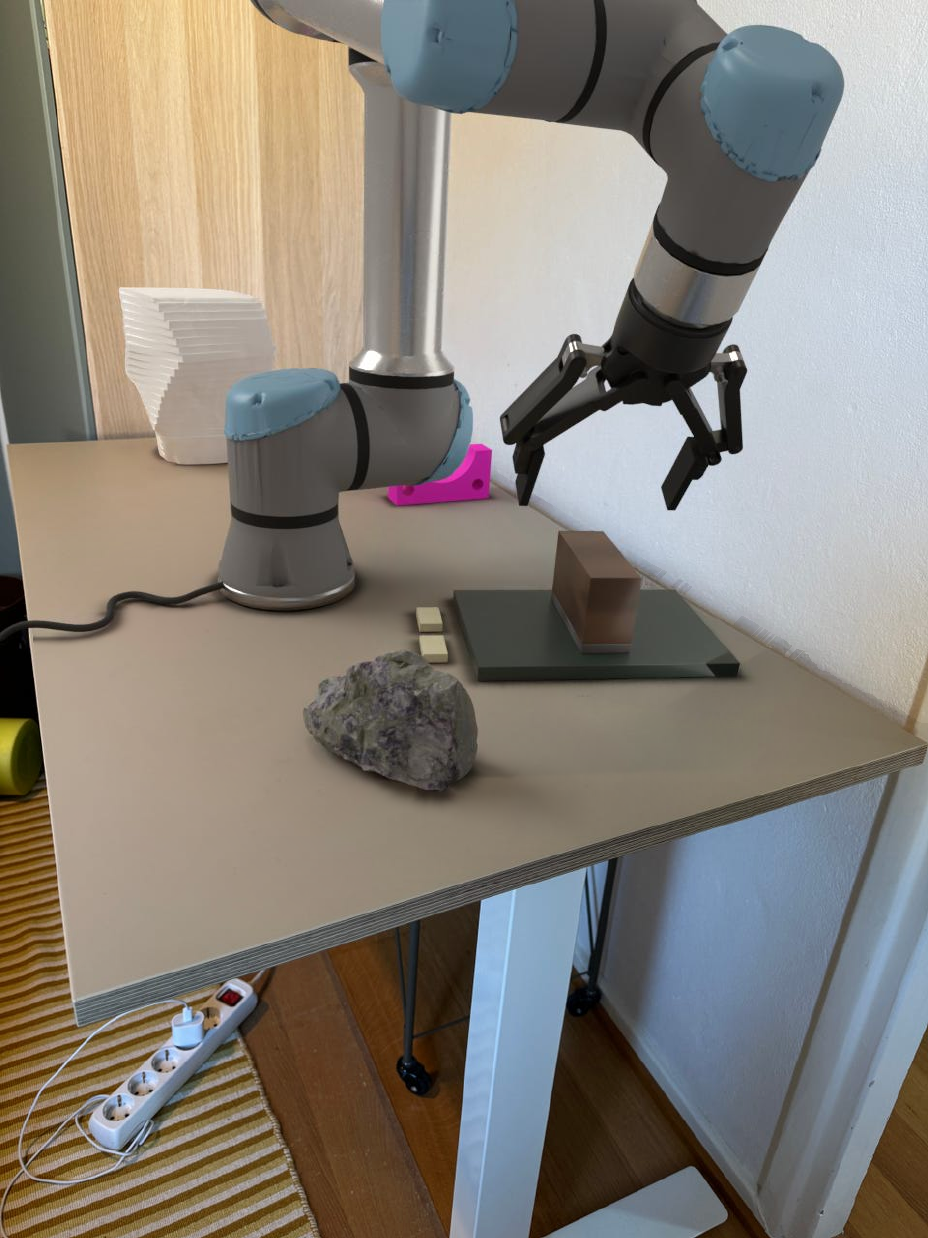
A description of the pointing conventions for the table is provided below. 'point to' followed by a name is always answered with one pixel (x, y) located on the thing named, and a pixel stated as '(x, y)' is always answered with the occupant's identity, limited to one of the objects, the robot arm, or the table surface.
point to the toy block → (451, 482)
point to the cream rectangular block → (429, 619)
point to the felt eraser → (595, 591)
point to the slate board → (544, 649)
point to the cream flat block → (433, 648)
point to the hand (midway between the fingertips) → (595, 496)
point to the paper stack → (192, 362)
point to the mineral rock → (398, 720)
